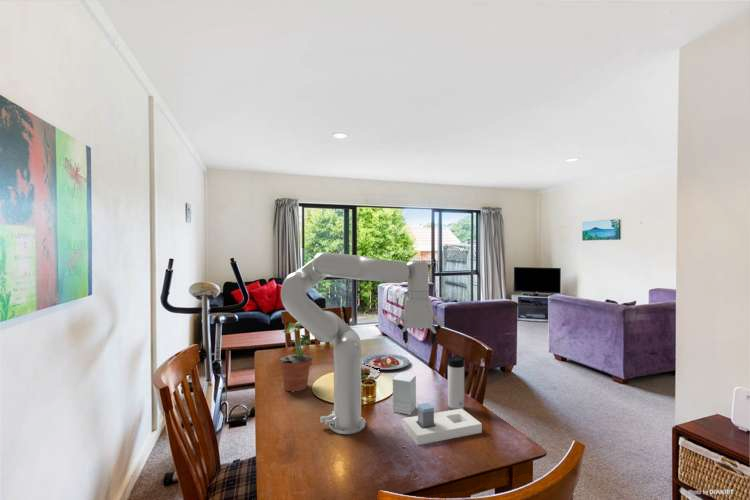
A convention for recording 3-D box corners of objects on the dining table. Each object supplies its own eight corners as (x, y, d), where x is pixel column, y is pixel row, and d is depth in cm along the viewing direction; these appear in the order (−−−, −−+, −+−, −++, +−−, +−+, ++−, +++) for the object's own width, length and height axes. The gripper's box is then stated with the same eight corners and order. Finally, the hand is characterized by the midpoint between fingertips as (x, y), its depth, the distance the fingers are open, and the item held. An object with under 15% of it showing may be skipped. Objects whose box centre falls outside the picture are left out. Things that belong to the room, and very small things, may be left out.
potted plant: (315, 380, 163) (315, 307, 164) (309, 393, 148) (310, 312, 148) (281, 381, 163) (282, 307, 163) (273, 394, 148) (273, 312, 148)
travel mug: (465, 412, 131) (465, 359, 132) (447, 410, 133) (447, 358, 133) (464, 405, 138) (464, 354, 138) (447, 403, 139) (447, 353, 139)
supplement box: (416, 407, 135) (416, 375, 135) (410, 415, 129) (410, 381, 129) (399, 404, 138) (399, 372, 139) (392, 411, 132) (392, 378, 132)
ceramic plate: (359, 358, 198) (359, 353, 198) (402, 356, 203) (402, 351, 203) (366, 374, 173) (366, 368, 173) (415, 371, 177) (415, 365, 177)
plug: (423, 436, 114) (423, 409, 114) (417, 430, 118) (417, 404, 118) (433, 434, 115) (433, 407, 115) (428, 428, 119) (428, 402, 119)
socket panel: (417, 445, 109) (417, 435, 109) (402, 426, 120) (402, 418, 120) (481, 432, 117) (481, 423, 117) (461, 416, 128) (461, 408, 128)
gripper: (392, 296, 122) (393, 344, 122) (441, 296, 117) (443, 347, 117) (396, 293, 129) (397, 339, 129) (443, 294, 124) (444, 341, 124)
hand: (419, 343), depth 123 cm, fingers open, 9 cm apart
